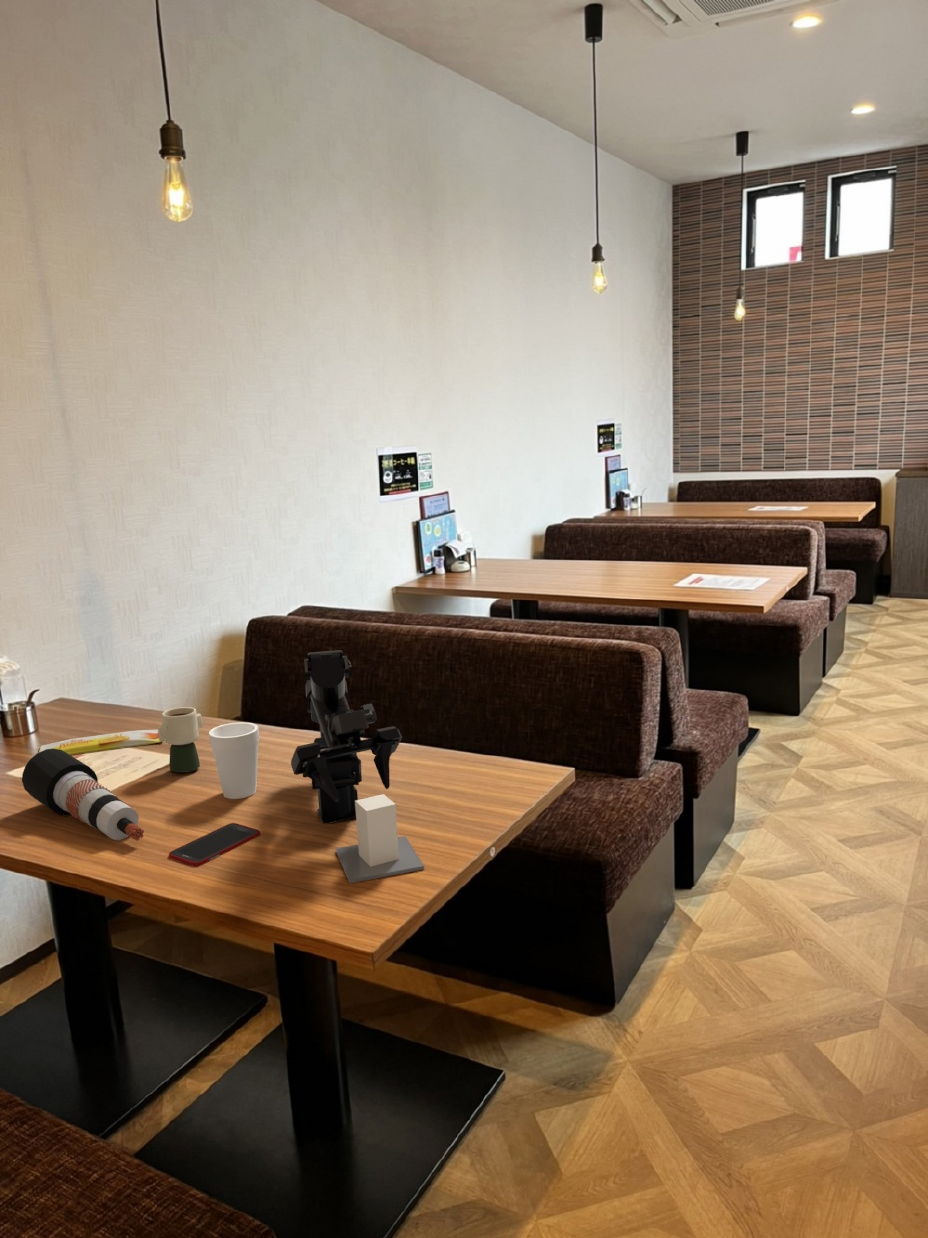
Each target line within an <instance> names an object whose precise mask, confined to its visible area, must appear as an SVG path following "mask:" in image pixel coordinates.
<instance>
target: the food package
mask: <svg viewBox="0 0 928 1238" xmlns="http://www.w3.org/2000/svg"><path fill="white" fill-rule="evenodd" d="M157 743H162V742H161V741H160V740H159V736H158V729H141V730H139V729H138V730H129V731H121V732H114V733H106V734H105V733H104V734H99V735H93V736H92V735H91V736H83V737H78V738H77V737H75V738H70V739H65V740H62V741H56V742H52V743H47V744H43V745H40V748H39V751H38V753H39V752H42V751H44V750H46V749H60V750H63V751H64V752H66V753H68V754H69V755H71V756H74V755H81V754H88V753H95V752H103V751H110V750H116V749H124V748H132V747H139V746H148V745H152V744H153V745H154V744H157Z"/></svg>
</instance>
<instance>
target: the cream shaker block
mask: <svg viewBox="0 0 928 1238" xmlns="http://www.w3.org/2000/svg"><path fill="white" fill-rule="evenodd" d="M355 807H356V831H357V845H358V849H359V856H360V857H361V858H362V859H363V860H364V861H365V862H366V863H367V864H368V865H369V866H370V867H371V866H375V865H379V864H382V863H386V862H390V861H394V860H397V859H399V851H398V824H397V823H398V822H397V821H398V820H397V807H396V802H394V801H393V800H392V799H390V798H389V797H387V796H386V795H385V794H384V793H382V794H378V795H373V796H369V797H365V798H361V799H358V800H356V801H355Z"/></svg>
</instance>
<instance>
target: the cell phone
mask: <svg viewBox="0 0 928 1238" xmlns="http://www.w3.org/2000/svg"><path fill="white" fill-rule="evenodd" d="M259 836H261V830H259V829H257V828H254V827H250V826H246V825H242V824H239V823H235V822H231V823H228V824H226V825H224V826H222V827H219V828H218V829H215V830H213V831H210V832H209V833H207V834H204V835H203V836H200V837H198V838H196V839H194V840H192V841H190V842H188V843H186V844H184V845H181V846H178V847H177V848H175V849H172V850H171V851H170V852H169V853H168V858H169V859H171V860H173V861H177V862H179V863H183V864H186V865H188V866H191V867H200V866H203V865H204V864H206V863H209V862H210V861H211V860H213V859H216V858H217V857H219V856H221V855H224V854H226V853H229V852H230V851H232V850H234V849H236V848H238V847H241V846H242V845H243V844H247V842H250V841H251V840H254V839H255V838H257V837H259Z"/></svg>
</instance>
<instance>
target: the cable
mask: <svg viewBox="0 0 928 1238" xmlns="http://www.w3.org/2000/svg"><path fill="white" fill-rule="evenodd" d="M98 781H99V780H98V776H97V774H96V772H95V770H93V769H92V768H91V766H89V765H88V764H85V763H84V762H82V761H80V760H78V759H77V758H75V757H74V756H73V755H69V754H68V753H66V752H64V751H63V750H60V749H46V750H44V751H42V752H39V751H38V752H37V753H35V755H33V756H32V757H31V758H30V759H29V760H28V762H27V763H26V764H25V766H24V769H23V772H22V777H21V783H22V785H23V789H24V790H25V791H26V792H27V794H29V795H30V797H32V798H33V799H35V800H37V802H39V803H41V804H42V805H43V806H44V807H46V808H47V809H48V810H50V811H51V812H53V813H55V814H56V815H59V816H71V815H72V816H73V817H74V818H75V819H76V820H77V819H78V820H80V822H82V823H84V824H86V825H89V826H90V827H92V828H94V829H95V830H98V831H99V832H101V833H102V834H104V835H106V836H107V837H109V838H110V839H111V840H114V841H120V840H123V839H126V838H129V837H130V839H133V840H135V841H137V842H138V841H139V840H140V839H142V838H144V833H145V830H144V829H143V828H142V827H141V826H139V814H138V813H137V811H136V809H133V808H132V807H131V806H129V805H128V804H126V802H124V801H122V800H121V799H120V798H119V797H118V796H117V795H115V794H113V792H112V791H111V790H110V789H108V788H107V787H105V786H104V785H102V784H100V783H99V782H98Z"/></svg>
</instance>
